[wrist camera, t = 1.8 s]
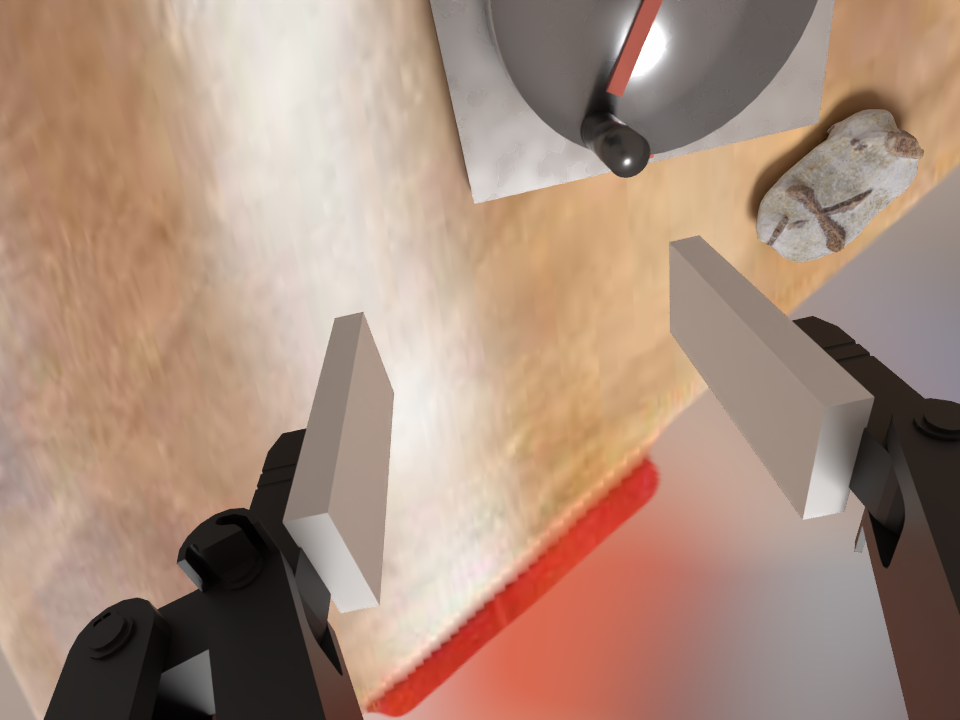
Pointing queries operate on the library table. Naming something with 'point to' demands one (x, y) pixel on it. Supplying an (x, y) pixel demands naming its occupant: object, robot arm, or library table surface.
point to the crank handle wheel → (642, 66)
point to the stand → (554, 159)
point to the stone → (838, 187)
